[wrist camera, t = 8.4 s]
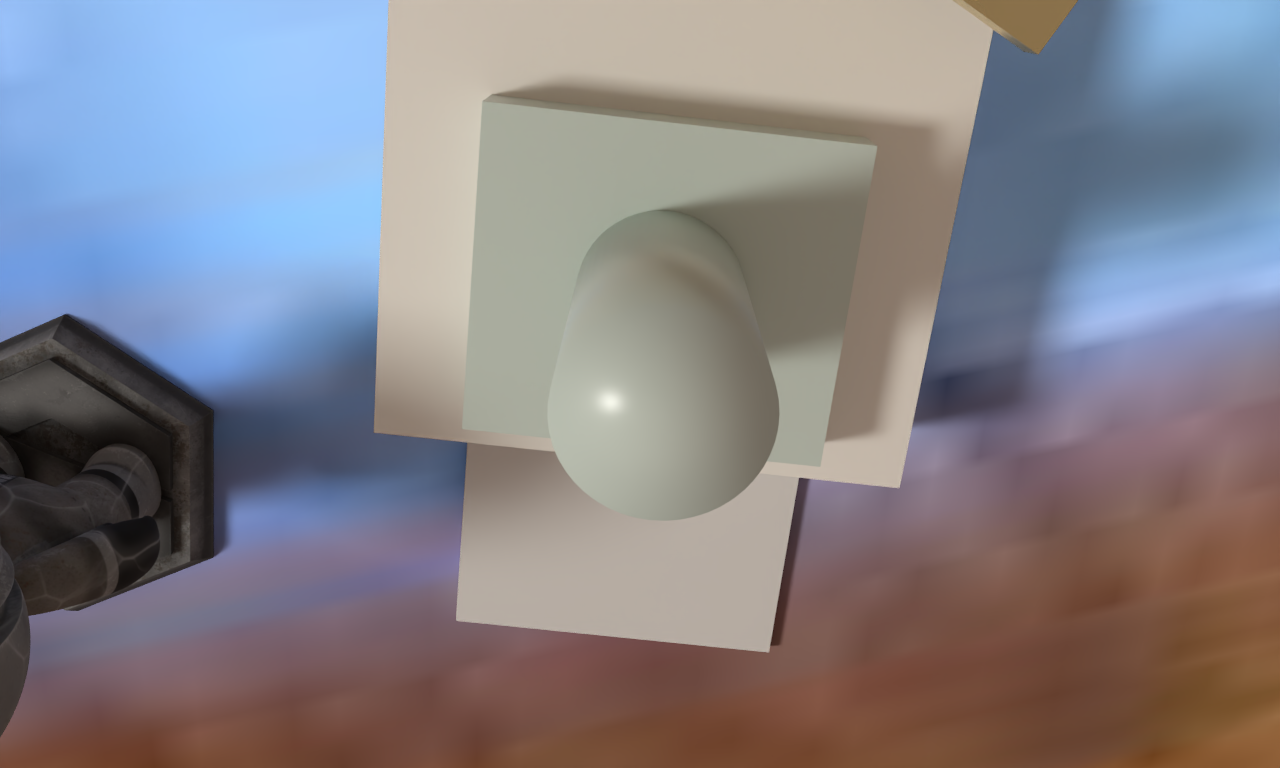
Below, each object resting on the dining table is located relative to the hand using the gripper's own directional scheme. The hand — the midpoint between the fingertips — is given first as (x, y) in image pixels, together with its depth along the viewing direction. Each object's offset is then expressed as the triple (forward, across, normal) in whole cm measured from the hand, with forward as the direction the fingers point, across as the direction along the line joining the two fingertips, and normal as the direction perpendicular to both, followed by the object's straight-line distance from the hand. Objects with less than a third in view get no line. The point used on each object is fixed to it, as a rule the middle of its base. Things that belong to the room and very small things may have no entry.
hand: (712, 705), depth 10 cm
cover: (+20, 0, -1) cm, 20 cm away
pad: (+24, -1, -10) cm, 26 cm away
